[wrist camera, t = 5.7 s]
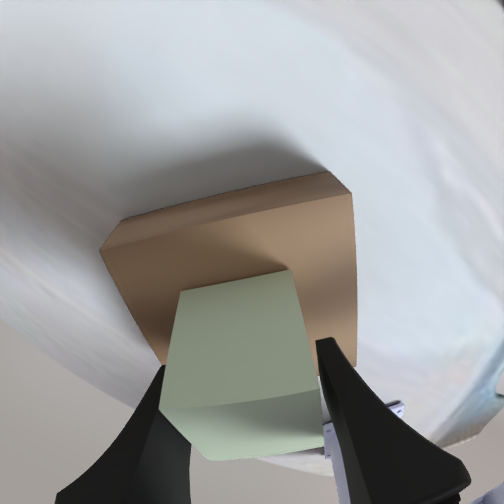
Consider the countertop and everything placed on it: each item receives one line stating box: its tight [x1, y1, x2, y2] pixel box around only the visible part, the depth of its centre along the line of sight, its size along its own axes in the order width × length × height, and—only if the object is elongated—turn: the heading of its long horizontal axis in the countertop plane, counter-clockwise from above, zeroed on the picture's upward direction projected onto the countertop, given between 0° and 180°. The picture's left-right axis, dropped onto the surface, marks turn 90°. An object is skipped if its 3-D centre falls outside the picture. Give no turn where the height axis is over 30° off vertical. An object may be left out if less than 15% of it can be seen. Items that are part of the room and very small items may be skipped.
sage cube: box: [159, 269, 324, 461], centre depth 11 cm, size 4×4×6 cm
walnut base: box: [99, 171, 357, 376], centre depth 15 cm, size 10×10×3 cm
